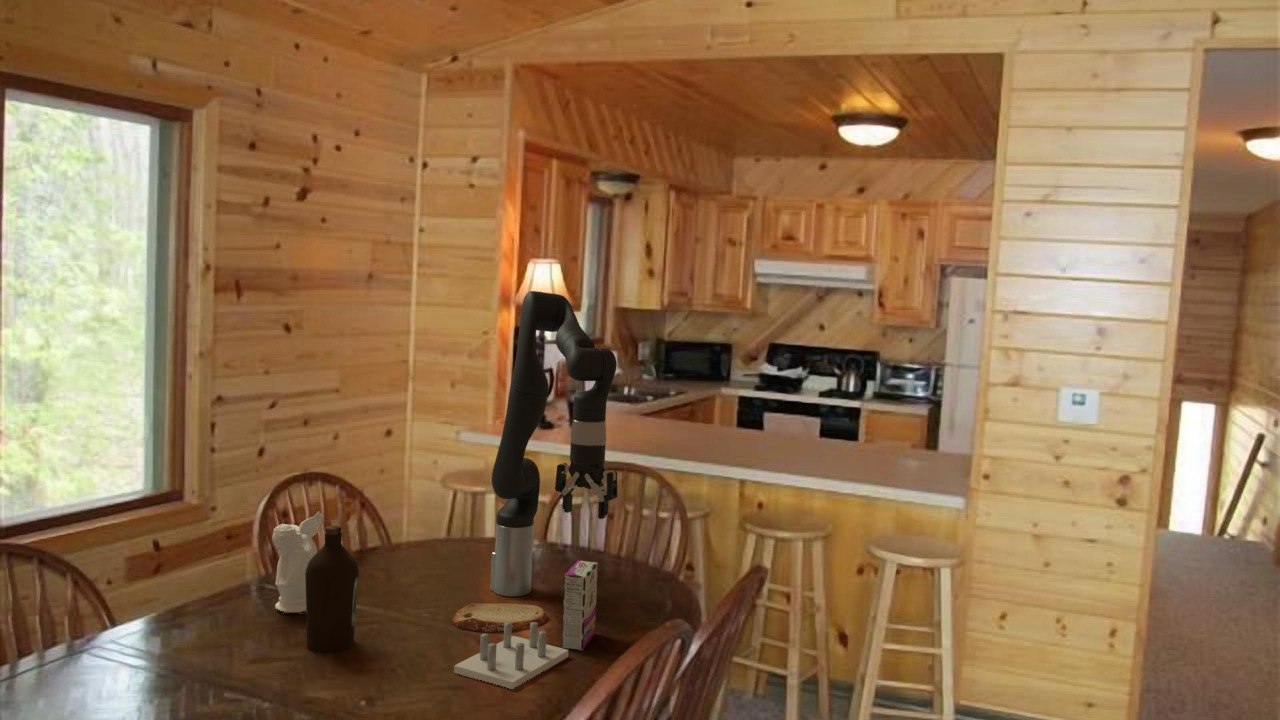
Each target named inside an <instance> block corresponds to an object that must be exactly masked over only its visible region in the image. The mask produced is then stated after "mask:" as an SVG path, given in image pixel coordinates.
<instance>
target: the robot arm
mask: <svg viewBox="0 0 1280 720" xmlns="http://www.w3.org/2000/svg"><path fill="white" fill-rule="evenodd" d="M518 327H519V328H518V339H517V348H516V355H515V362H514V366H513V367H514V368H513V372H512V377H511V382H510V387H509V393H508V400H507V405H506V414H505V418H504V424H503V429H502V433H501V438H500V444H499V446H498V449H497V453H496V457H495V461H494V464H493V468H492V473H491V485H492V486H491V487H492V489H493V492H494V493H495V495H496V496H497V497H498V498H499V499H503V500H506V501H505V503H504V504H503V506H502V507H501V508H500V509H499V510H498V511H497V512H496V517H495V518H496V519H495V520H496V522H495V524H496V525H495V526H496V527H495V547H494V549H495V550H494V551H492V552H491V556H490V557H491V560H490V561H491V562H490V563H491V565H490V587H489V591H493V593H495V594H497V595H500V596H503V597H521V596H525V595H528V594H530V593H531V590H532V588H531V587H532V567H533V548H534V543H533V542H534V528H535V527H534V524H535V523H534V521H535V517H536V514H537V512H538V509H539V508H538V507H539V500H540V499H539V497H540V490H541V489H540V488H541V487H540V486H541V475H540V470H539V467H538V466H537V464H536V463H535V462H534V460H532V459H530V458H528V457H525V454H526V453H525V452H526V449H527V447H528V443H529V442H530V440H531V438H532V436H533V434H534V433H535V431H536V430H537V428H538V426H539V424H540V423H541V420H542V418H543V417H544V414H545V410H546V406H547V400H548V396H549V395H548V394H549V389H550V388H549V381H548V378H547V375H546V372H545V370H544V369H543V366H542V363H541V362H540V359H539V356H538V354H537V348H536V332H537V331H541V332H549V333H554V332H555V333H556V335H555V344H556V346H557V348H558V351H559V352H560V354H562V356H563V357H564V359H565V362H566V369H567V375H568V376H569V377H570V378H571V379H573V380H574V381H577V382H594V383H593V386H592V387H591V388H590V389H588V390H584V391H581V392H577V393H576V394H574V398H573V410H572V412H573V413H572V424H571V429H570V450H569V451H570V452H569V461H570V464H568V463H566V462H564V463H559V464H558V465H556V475H555V484H554V485H555V486H554V490H555V491H556V492H560V493H561V494H562V504H561V505H562V510H563V511H564V513H565V514H566V513H567V514H568V513H571V512H572V511H573V497H574V496H573V494H572V493H573V492H574V491H575V489H576V488H584V489H587V490H592V491H593V493H594V494H596V496H597V498H598V500H599V501H598V509H597V511H598V512H597V519H598V520H603V519H605V518H606V517H607V516H608V514H609V501H612V500H615V499H617V498H618V471H616V470H611V471H608V470H607V471H606V470H605V467H604V466H605V461H606V444H607V443H606V442H607V425H606V420H607V419H606V418H607V417H606V416H607V402H608V397H609V394H610V391H611V387H612V384H613V381H614V378H615V375H616V371H617V357H616V356H615V353H614V352H613V351H612V350H611V349H609V348H602V347H599V348H597V347H596V346H595V343H594V341H593V340H592V339H591V337H590V336H589V334H587V333H586V332H585V331H584V329H583V328H582V327H581V325H580V323H579V320H578V319H577V316H576V314H575V311H574V309H573V307H572V305H571V303H570V301H569V300H568V299H567V298H566V297H565V296H564V295H561V294H559V293H551V292H542V291H536V290H529V291H527V292H526V294H525V296H524V297H523V299H522V304H521V310H520V317H519V326H518ZM568 474H569V475H570V476H571V478H570V479H569V481H568V482H567V475H568ZM603 479H604V480H605V481H606V484H605V483H604V481H603Z"/></svg>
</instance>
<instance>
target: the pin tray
mask: <svg viewBox="0 0 1280 720" xmlns="http://www.w3.org/2000/svg"><path fill="white" fill-rule="evenodd" d="M538 629H539V625H538V623H537V622H531V623H530V628H529V639H528V638H524V637H520V636H515V635H512V633H513V630H512V623H510V622H506V623H504V632H503V640H502V641H500V642H498V643H496V642H495V643H494V642H490V637H489V636H490V634H489V633H481V634H480V642H479V643H480V648H479V649H480V650H479V653H477V654H473V655H472V656H470V657H468V658H466V659H465V660H463V661H460V662H459V663H457V664H455V665H454V669H453V670H454V671H453V673H454V674H455V675H456V674H457V675H459V674H460V676H463V677H466V676H467V678H471V679H473V678H474V680H477V679H478V680H477V681H480V680H482V681H481V682H483V681H485V682H484V683H487V682H489V683H488V684H490V683H493V684H492V685H494V684H496V685H495V686H497V685H500V686H499V687H501V686H503V687H502V688H504V687H506V688H505V689H507V688H509V690H511V689H513V690H514V688H515V687H517V686H518V687H520V686H522V685H523V684H525V683H527V682H528V681H530V680H532V679H533V678H535V677H537V676H538V674H539V675H540V674H541V672H542V673H544V672H546V671H547V670H548V669H551V668H552V667H553V666H556V665H557V664H559V663H560V662H562V661H564V660H566V659H567V658H569V649H564V648H562V647H558V646H554V645H550V644H547V631H545V630H538ZM489 642H490V643H489ZM543 671H544V672H543ZM536 675H537V676H536ZM534 676H535V677H534ZM531 678H532V679H531ZM529 679H530V680H529ZM527 680H528V681H527ZM526 681H527V682H526ZM524 682H525V683H524ZM522 683H523V684H522ZM521 684H522V685H521ZM519 685H520V686H519ZM518 687H517V688H518ZM515 689H516V688H515Z"/></svg>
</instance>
